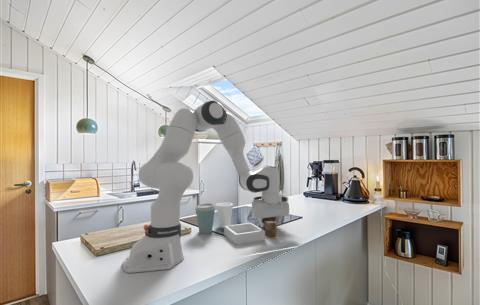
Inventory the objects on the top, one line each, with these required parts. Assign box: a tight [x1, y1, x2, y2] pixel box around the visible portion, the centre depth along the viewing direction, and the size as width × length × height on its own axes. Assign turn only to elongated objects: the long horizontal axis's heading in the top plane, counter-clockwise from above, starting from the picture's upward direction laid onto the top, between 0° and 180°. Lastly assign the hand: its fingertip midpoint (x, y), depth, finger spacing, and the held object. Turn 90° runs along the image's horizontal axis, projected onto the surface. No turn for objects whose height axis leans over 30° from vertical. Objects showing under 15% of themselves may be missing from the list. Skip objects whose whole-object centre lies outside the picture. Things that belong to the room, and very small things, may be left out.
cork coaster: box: [265, 234, 279, 240], centre depth 129 cm, size 8×8×1 cm
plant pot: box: [253, 195, 277, 228], centre depth 149 cm, size 15×15×16 cm
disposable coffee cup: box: [194, 202, 216, 235], centre depth 136 cm, size 11×11×15 cm
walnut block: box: [264, 221, 277, 238], centre depth 129 cm, size 4×4×7 cm
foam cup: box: [215, 202, 234, 229], centre depth 146 cm, size 10×9×13 cm
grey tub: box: [223, 222, 266, 245], centre depth 127 cm, size 15×15×5 cm
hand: (270, 225), depth 129 cm, fingers open, 8 cm apart
